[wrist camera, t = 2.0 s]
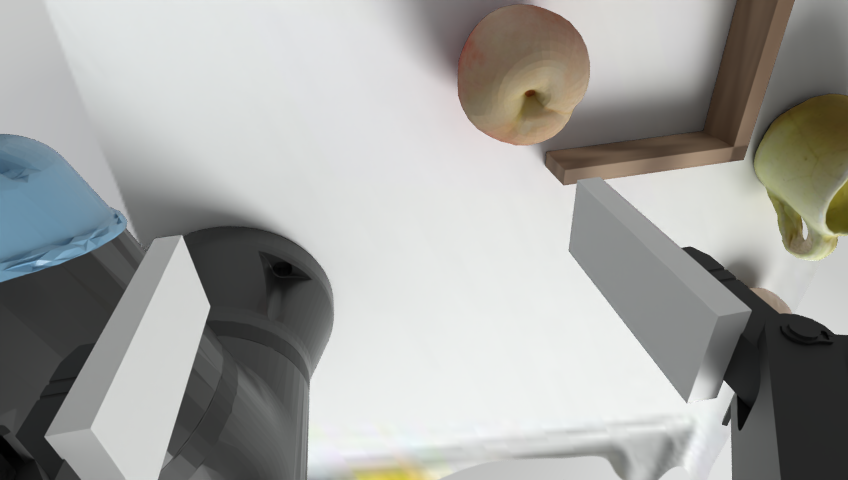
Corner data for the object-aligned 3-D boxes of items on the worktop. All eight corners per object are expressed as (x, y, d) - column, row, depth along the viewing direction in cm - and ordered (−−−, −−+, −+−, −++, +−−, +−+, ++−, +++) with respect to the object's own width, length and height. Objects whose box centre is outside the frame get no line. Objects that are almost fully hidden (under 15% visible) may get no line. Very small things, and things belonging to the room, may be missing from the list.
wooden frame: (545, 166, 38) (563, 185, 35) (564, -84, 29) (591, -86, 26) (712, 143, 40) (743, 159, 37) (780, -101, 31) (828, -105, 28)
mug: (816, 57, 35) (956, 140, 29) (861, 86, 41) (986, 160, 35) (690, 185, 42) (782, 272, 36) (744, 194, 48) (831, 271, 42)
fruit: (423, 92, 33) (448, 131, 27) (482, -26, 30) (526, -14, 23) (516, 137, 36) (559, 182, 30) (578, 34, 33) (642, 59, 26)
